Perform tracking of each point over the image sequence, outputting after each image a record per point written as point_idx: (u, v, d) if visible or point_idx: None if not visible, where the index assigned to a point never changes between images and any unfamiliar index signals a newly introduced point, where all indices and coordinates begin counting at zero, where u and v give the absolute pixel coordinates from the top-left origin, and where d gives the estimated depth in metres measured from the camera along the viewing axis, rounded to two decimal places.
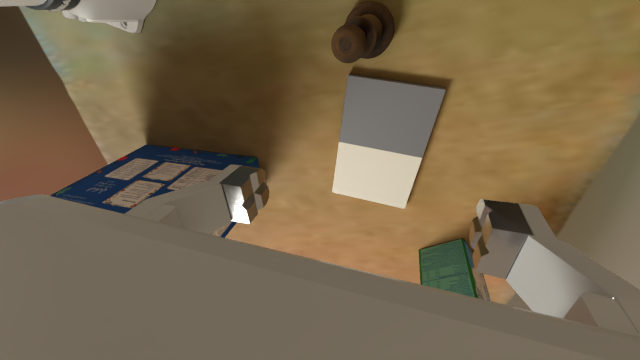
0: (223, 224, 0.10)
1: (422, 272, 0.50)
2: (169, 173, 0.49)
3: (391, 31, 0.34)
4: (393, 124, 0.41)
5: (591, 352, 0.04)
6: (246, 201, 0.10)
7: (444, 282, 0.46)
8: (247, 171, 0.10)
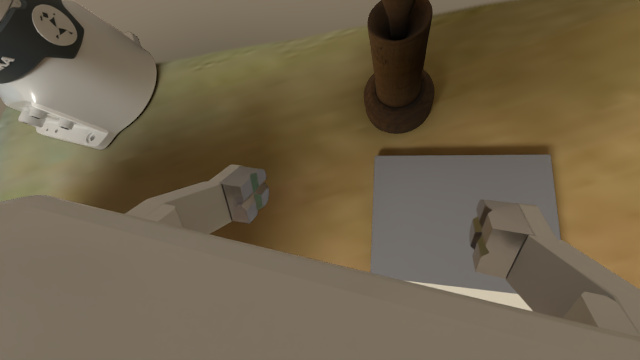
0: (223, 224, 0.10)
1: None
2: None
3: (432, 85, 0.24)
4: None
5: (591, 352, 0.04)
6: (246, 201, 0.10)
7: None
8: (247, 171, 0.10)
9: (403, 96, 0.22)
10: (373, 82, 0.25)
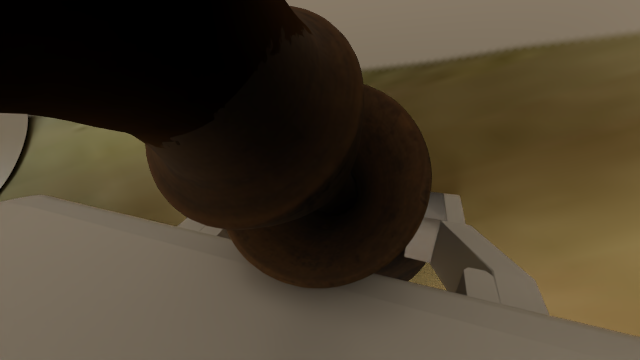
0: None
1: None
2: None
3: None
4: None
5: (591, 352, 0.04)
6: None
7: None
8: None
9: None
10: None
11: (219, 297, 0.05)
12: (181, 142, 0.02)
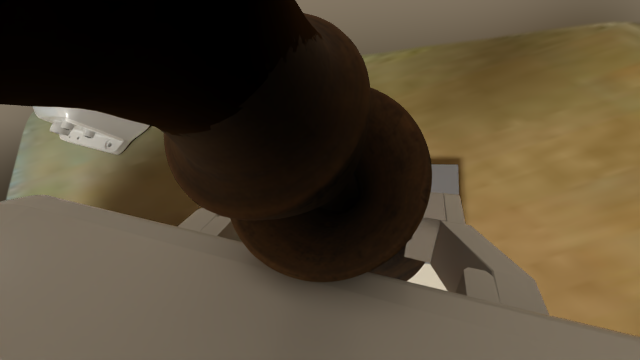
0: None
1: None
2: None
3: None
4: None
5: (591, 352, 0.04)
6: None
7: None
8: None
9: None
10: None
11: (219, 297, 0.05)
12: (206, 137, 0.02)
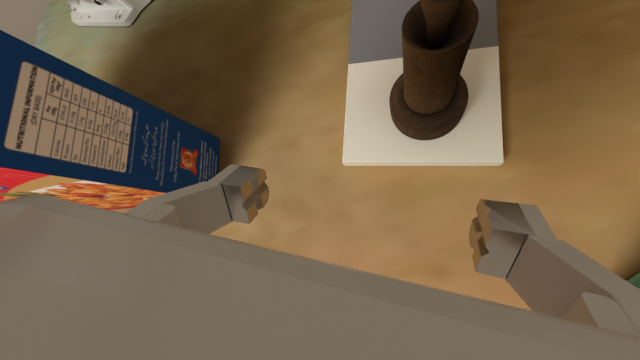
0: (223, 224, 0.10)
1: None
2: None
3: (466, 89, 0.22)
4: None
5: (591, 352, 0.04)
6: (246, 201, 0.10)
7: None
8: (247, 171, 0.10)
9: (435, 104, 0.20)
10: (400, 85, 0.23)
11: (219, 297, 0.05)
12: None
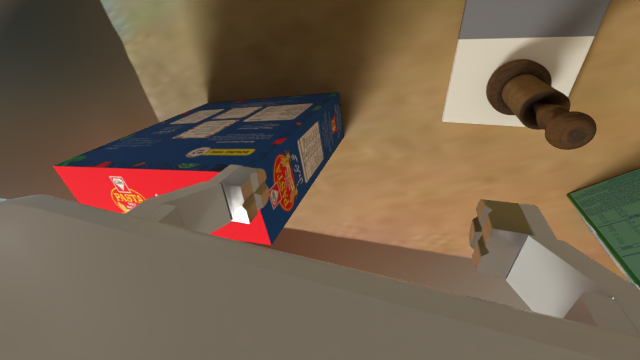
0: (223, 224, 0.10)
1: (590, 217, 0.35)
2: (241, 113, 0.41)
3: None
4: None
5: (591, 352, 0.04)
6: (246, 201, 0.10)
7: None
8: (247, 171, 0.10)
9: None
10: (501, 83, 0.32)
11: (219, 297, 0.05)
12: None
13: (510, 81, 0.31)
